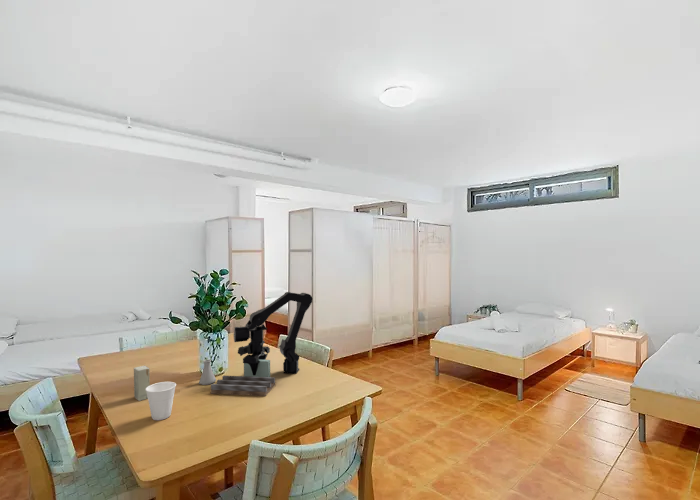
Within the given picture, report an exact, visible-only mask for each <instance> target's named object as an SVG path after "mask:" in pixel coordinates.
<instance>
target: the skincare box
mask: <svg viewBox="0 0 700 500" xmlns="http://www.w3.org/2000/svg"><path fill="white" fill-rule="evenodd" d="M150 379H151V378H150V367H148V366H146V365H141V366H136V367H133V388H134V389H133V391H134V392H133V395H134V399H135V400H137V401H138V402H140V401H144V400H148V396H147V392H146V390H145V389H146V388H147V387H148V386H150V385H151V382H150Z"/></svg>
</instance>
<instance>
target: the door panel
mask: <svg viewBox="0 0 700 500" xmlns="http://www.w3.org/2000/svg"><path fill="white" fill-rule="evenodd" d="M259 361H260V363H259V366H258V369H257V373H256V375H253V373H252V370H251V367H250V365H249V364H248V363H243V376H250V377H271V360H270V359H266V360H259Z"/></svg>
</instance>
